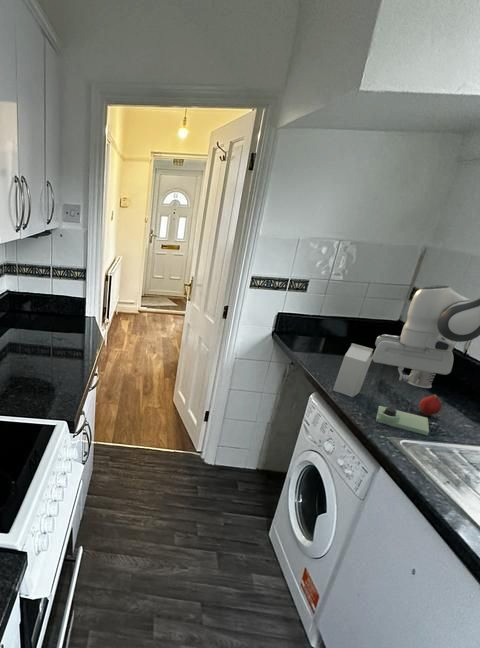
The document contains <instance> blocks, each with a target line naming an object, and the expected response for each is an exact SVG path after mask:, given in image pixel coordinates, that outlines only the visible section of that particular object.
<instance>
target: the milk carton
mask: <svg viewBox="0 0 480 648" xmlns="http://www.w3.org/2000/svg"><path fill="white" fill-rule="evenodd" d="M373 351H374V348H371V347H367V346H364V345H360V344H357V343H351V344H350V347H349V348H348V350H347V352H346V353H345V355H344V357H343V360H342V362H341V365H340V368H339V371H338V374H337V376H336V380H335V383H334V385H333V389H332V391H334V392H336V393H339V394H342V395H345V396H347V397H348V396H349V397H351V398H354V397H355V396H356V395H358V394H359V393H360V392H361V390H362V386H363V384H364V381H365V379H366V376H367V373H368V371H369V369H370V365H371V363H372V361H373V360H372V357H373Z"/></svg>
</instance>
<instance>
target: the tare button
mask: <svg viewBox="0 0 480 648" xmlns="http://www.w3.org/2000/svg"><path fill="white" fill-rule="evenodd" d="M396 410H397V409H394V408H391V407H386V409H385V412H384V414H386V415H389V416H395V414H396Z"/></svg>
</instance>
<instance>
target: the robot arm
mask: <svg viewBox="0 0 480 648" xmlns="http://www.w3.org/2000/svg"><path fill="white" fill-rule="evenodd" d="M440 334H441V335H440ZM439 335H440V336H439ZM478 337H480V297H479V298H477V299H475V300H473V299H471V298H468V297H466V296H463V295H462V294H460V293H458V292H456V291H455V290H454V289H453V288H452V287H450V286H449V285H428V286H424V287H421V288H419V289H418V290H416V292H415V293H414V295H413V296H412V299H411V301H410V304H409V307H408V311H407V318H406V322H405V323H404V325H403V327H402V330H401V334H400V335H392V334H386V333H384V334H381V335H378V336H377V337H376V339H375V343H374V345H375V347H376V348H375V349H374V352H373V353H372V356H373V357H372V360H371V361H373V363H376V364H383V365H388V366H392V367H393V366H394V367H397V371H398V374H399V379H398V381H400V382H405V383H408V382H410V381H411V378H412V377H413V376H415V375H416V374H417V373H418V370H422V371H427V372H433V374H439V375H445V376H446V375H449V374H450V373H451V372H452V370H453V366H454V353H453V350H454V348H455V344H454V342H456V343H462V342H463V343H464V342H469V341H472V340H474V339H477V338H478ZM404 369H411V371H412V372H413V373H412V372H410V373H411V374H410V373H409V375H408V374H404V373H403V371H404Z"/></svg>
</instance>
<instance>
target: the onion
mask: <svg viewBox="0 0 480 648" xmlns="http://www.w3.org/2000/svg"><path fill="white" fill-rule="evenodd" d="M441 409H442V402H441V401H440V399H439V398H438V396H437V394H433V395H430V396H427V397H424V398H422V399H421V400H420V402H419V410H420V411H421V412H422V413H423V415H424V416H426V417H428V416H432V415H435V414H438V413H439V412H440V411H441Z"/></svg>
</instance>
